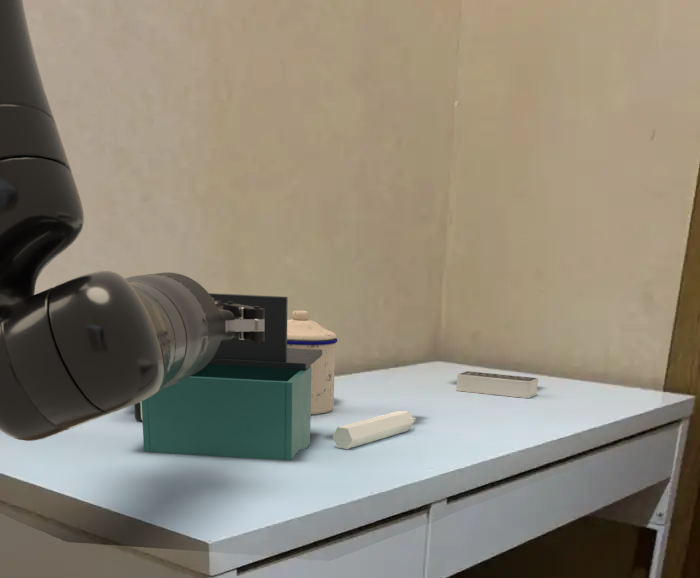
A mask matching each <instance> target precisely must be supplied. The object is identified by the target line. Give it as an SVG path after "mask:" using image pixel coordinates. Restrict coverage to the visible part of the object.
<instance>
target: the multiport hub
mask: <svg viewBox="0 0 700 578" xmlns="http://www.w3.org/2000/svg"><path fill="white" fill-rule="evenodd" d="M456 377H457V378H456V388H455V389H456V391H457V392H465V393H466V392H467V393H475V394H476V393H477V394H485V395H492V396H493V395H494V396H502V397H511V398H522V399H530V398H533V397H534V396H535V397H536V395H538V394H537V393H538V384H539V378H538V377H531V376H520V375H511V374H501V373H500V374H499V373H490V372H481V371H480V372H479V371H470V370H469V371H464V372H461V373H458V374H457V375H456Z"/></svg>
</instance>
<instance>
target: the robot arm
mask: <svg viewBox="0 0 700 578" xmlns="http://www.w3.org/2000/svg"><path fill="white" fill-rule="evenodd" d="M29 30H30V29H29V25H28V20H27V16H26V12H25V7H24V1H23V0H0V431H1V432H2V433H3V434H5V435H6V436H9V437H10V438H12V439H14V440H18V441H19V440H20V441H25V442H34V441H39V440H44V439H46V438H50V437H53V436H56V435H58V434H61V433H63V432H66V431H68V430H71V429H73V428H76V427H78V426H81V425H84V424H86V423H89V422H92V421H94V420H97V419H100V418H103V417H105V416H107V415H110V414H112V413H116V412H118V411H121V410H122V411H123V410H124V409H126V408H130V407H132V406H134V404H137V403H139V402H141V401H143V400H145V399H147V398H149V397H151V396H153V395H155V394H156V393H158V392H159V391H160V390H161V389H163V388H166V387H169V386H171V385H173V384H175V383H177V382H179V381H181V380H183V379H185V378H187V377H189V376H191V375H193V374H195V373H197V372H199V371H200V370H202V369H203V368H204V367H205V366H206V365H207V364H208V363H209V362H210V361H211V360H212V358H213V357H214V355H215V353H216V352H217V349H218V347H219V345H220V343H221V341H229V340H231V339H233V337H236V338H239V339H240V340H249V341H254V343H260V341H264V311H265V309H263V308H260V307H259V306H254V307H252V306H246V305H241V304H234V303H233V302H227V303H223V306H222V302H221V301H214V298H212V297H211V296H210V295H209V293H210V292H209V291H208V290H206V288H204V286H203V285H202V284H200V283H199V282H198V281H196V280H194V279H193V278H191V277H189V276H187V275H185V274H181V273H177V272H158V273H157V272H155V273H149V274H140V275H133V276H128V277H123V276H122V275H121V274H119V273H117V272H115V271H111V270H101V271H94V272H91V273H86V274H83V275H80V276H76V277H74V278H72V279H69V280H67V281H64V282H62V283H59V284H57V285H55V286H52V287H50V288H47V289H45V290H43V291H41V292H38V293H35V292H36V285H37V281H38V279H39V276H40V275H41V273H42V272H43V271H44V269H45V268H46V267H47V266H48V265H49V264H50V263H51V262H52V261H53V260H55V259H56V258H57V257H58V256H59V255H61V254H62V253H64V252H65V251H66V250H67V249H68V248H69V247H70V246H71V245H72V244H73V243H74V242H75V241H76V240H77V238H78V237H79V236H80V235H81V232H82V230H83V227H84V223H85V221H84V220H85V216H84V214H85V213H84V209H83V204H82V200H81V196H80V193H79V190H78V187H77V184H76V181H75V178H74V175H73V173H72V168H71V165H70V162H69V159H68V157H67V153H66V150H65V148H64V144H63V141H62V139H61V135H60V132H59V129H58V127H57V123H56V121H55V117H54V114H53V111H52V108H51V106H50V105H51V104H50V103H49V100H48V96H47V93H46V90H45V87H44V84H43V79H42V77H41V74H40V73H41V72H40V70H39V67H38V63H37V60H36V54H35V51H34V47H33V42H32V38H31V35H30V31H29Z"/></svg>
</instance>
